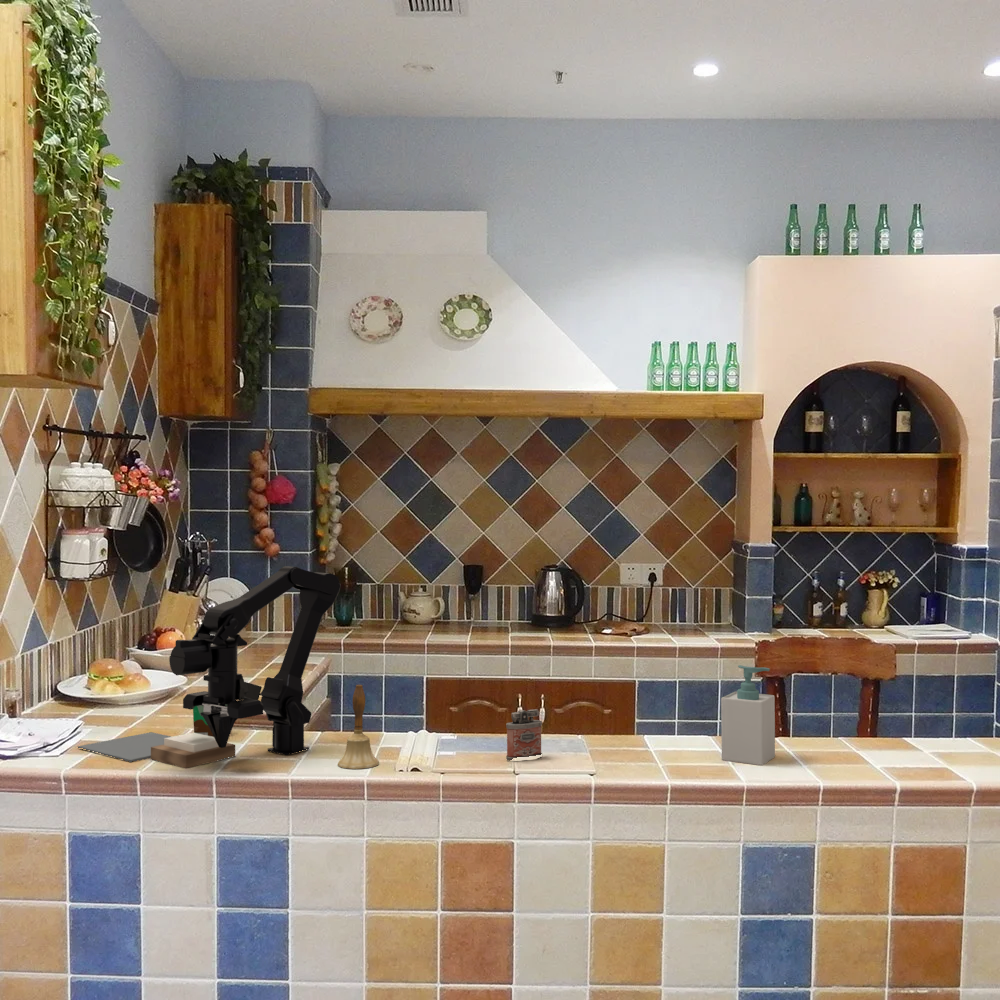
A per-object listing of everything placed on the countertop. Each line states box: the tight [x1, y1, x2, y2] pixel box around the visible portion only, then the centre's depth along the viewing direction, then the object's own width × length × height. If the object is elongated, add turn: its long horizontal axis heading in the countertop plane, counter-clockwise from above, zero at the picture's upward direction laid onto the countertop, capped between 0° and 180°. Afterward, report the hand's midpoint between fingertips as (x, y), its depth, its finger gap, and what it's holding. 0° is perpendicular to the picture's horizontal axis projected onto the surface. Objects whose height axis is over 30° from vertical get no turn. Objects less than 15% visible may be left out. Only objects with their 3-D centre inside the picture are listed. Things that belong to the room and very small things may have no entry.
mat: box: [77, 731, 172, 763], centre depth 215 cm, size 20×18×1 cm
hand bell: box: [337, 684, 380, 770], centre depth 201 cm, size 8×8×16 cm
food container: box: [192, 703, 220, 737], centre depth 227 cm, size 12×6×10 cm, turn 168°
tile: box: [164, 732, 219, 752], centre depth 206 cm, size 10×7×2 cm
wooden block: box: [150, 742, 236, 769], centre depth 206 cm, size 12×12×2 cm
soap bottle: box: [720, 665, 776, 766], centre depth 205 cm, size 9×9×19 cm
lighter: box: [505, 709, 543, 760], centre depth 205 cm, size 8×3×10 cm, turn 117°
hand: (222, 747), depth 200 cm, fingers closed
